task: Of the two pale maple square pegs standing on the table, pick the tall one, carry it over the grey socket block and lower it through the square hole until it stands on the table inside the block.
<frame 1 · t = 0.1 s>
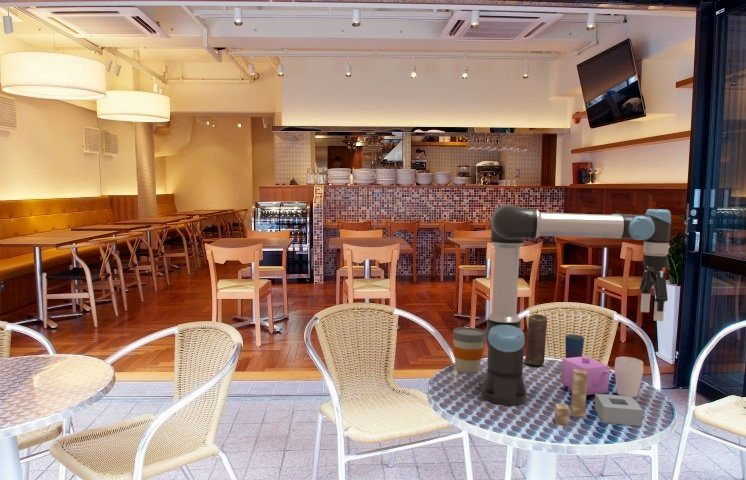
hand: (651, 316, 185), 28 cm above the table, fingers open, 13 cm apart
cup: (627, 394, 188), on the table
socket block: (617, 417, 168), on the table
long peg: (577, 414, 169), on the table
reusable coffee cup: (467, 369, 211), on the table
short peg: (561, 422, 163), on the table
cup 2: (572, 375, 207), on the table
teapot: (586, 394, 187), on the table
candle: (534, 365, 218), on the table
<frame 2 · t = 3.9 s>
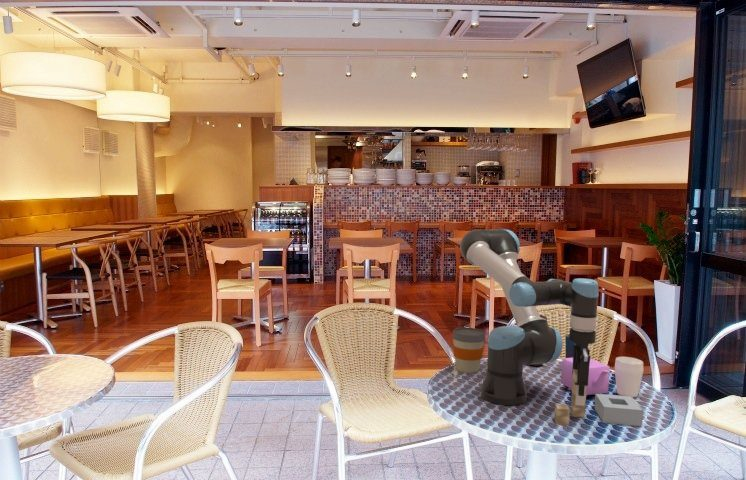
hand: (578, 402, 169), 4 cm above the table, fingers closed on long peg, 3 cm apart
long peg: (577, 414, 169), on the table, touching gripper
everything else where it was.
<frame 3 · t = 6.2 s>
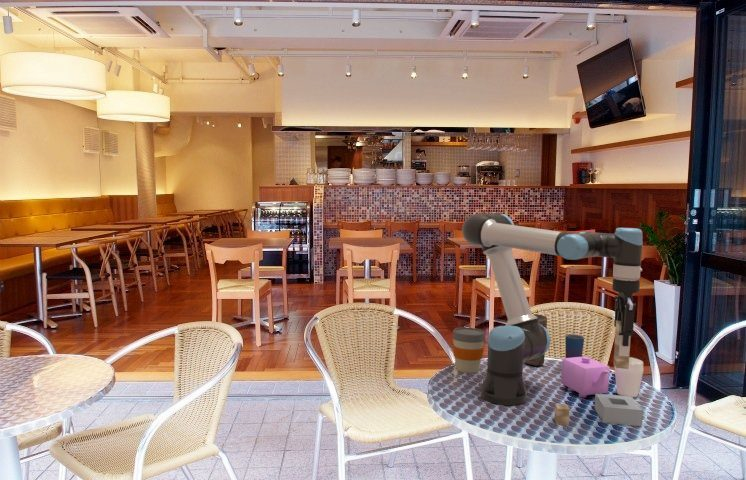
hand: (621, 353, 166), 20 cm above the table, fingers closed on long peg, 3 cm apart
long peg: (620, 366, 166), point 16 cm above the table, touching gripper
everything else where it was.
when the fingers open (7 cm above the table, at t = 8.5 s): long peg drops 3 cm, resting in socket block.
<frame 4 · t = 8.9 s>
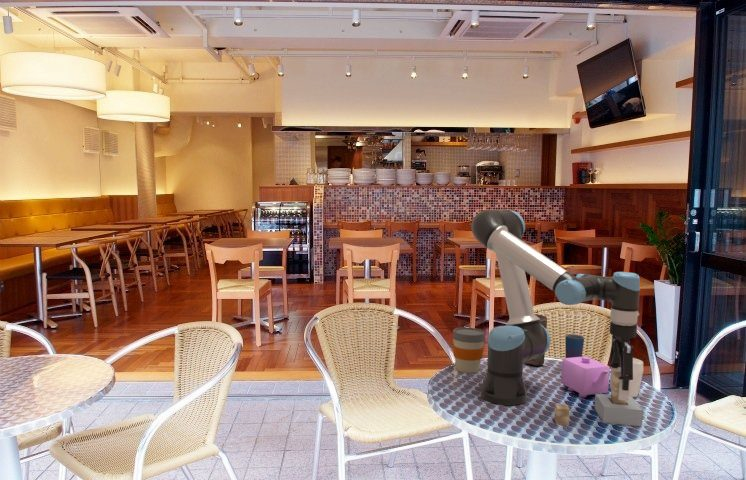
hand: (618, 393, 167), 8 cm above the table, fingers open, 9 cm apart
long peg: (617, 417, 168), resting in socket block
everything else where it was.
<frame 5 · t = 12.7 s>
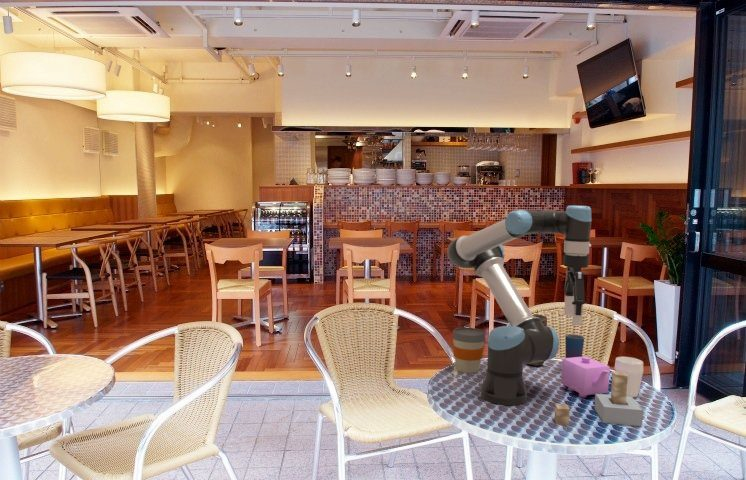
hand: (572, 320, 173), 29 cm above the table, fingers open, 13 cm apart
nothing on the table moved.
at the end: long peg 0.0 cm off-centre on the socket block, point 0.0 cm above the socket block's base; long peg tilted 0°; the gripper is holding nothing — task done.
